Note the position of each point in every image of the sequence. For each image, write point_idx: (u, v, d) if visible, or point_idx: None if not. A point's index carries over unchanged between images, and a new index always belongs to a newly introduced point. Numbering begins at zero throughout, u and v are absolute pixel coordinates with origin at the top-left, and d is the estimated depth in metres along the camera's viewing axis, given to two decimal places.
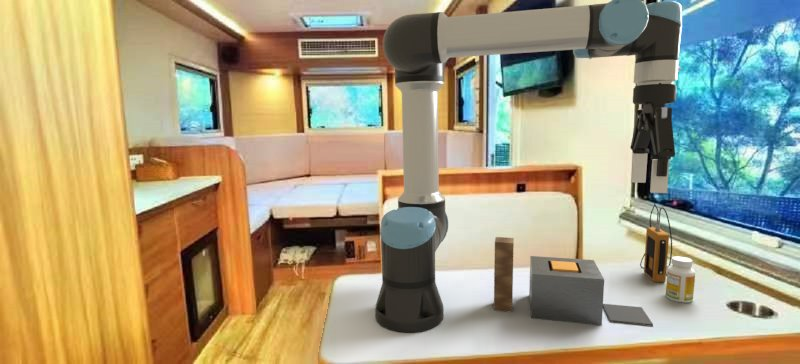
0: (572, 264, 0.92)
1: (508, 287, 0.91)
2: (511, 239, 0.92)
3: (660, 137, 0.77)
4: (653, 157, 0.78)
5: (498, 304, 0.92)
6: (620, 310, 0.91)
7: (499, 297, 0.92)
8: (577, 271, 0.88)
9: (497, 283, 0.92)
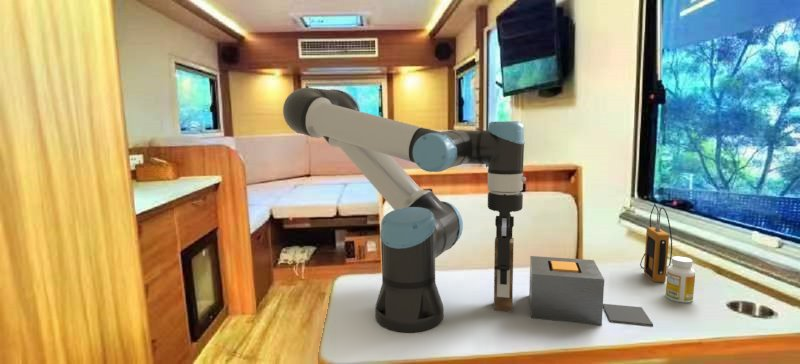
0: (572, 264, 0.92)
1: None
2: (511, 239, 0.92)
3: (499, 254, 0.87)
4: (495, 268, 0.90)
5: (498, 304, 0.92)
6: (620, 310, 0.91)
7: (499, 297, 0.92)
8: (577, 271, 0.88)
9: None
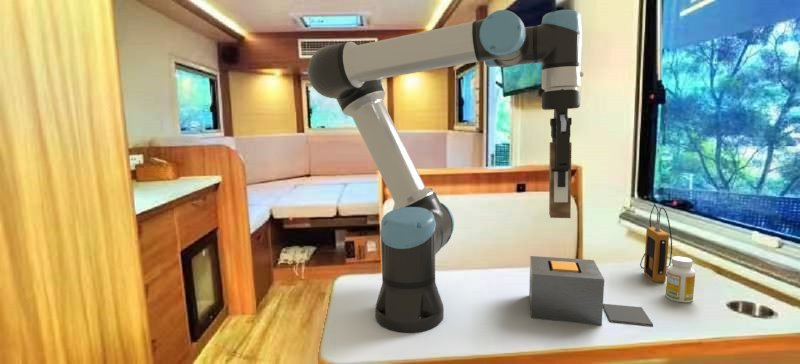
0: (572, 264, 0.92)
1: None
2: None
3: (558, 152, 0.82)
4: (552, 170, 0.85)
5: (555, 211, 0.88)
6: (620, 310, 0.91)
7: (557, 203, 0.87)
8: (577, 271, 0.88)
9: None
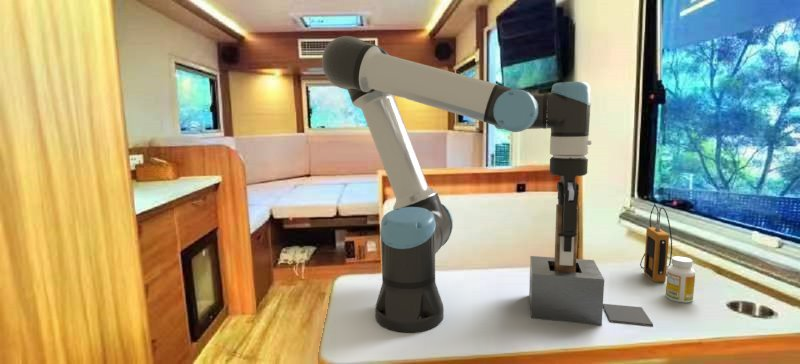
0: None
1: None
2: None
3: (565, 219, 0.84)
4: (559, 235, 0.87)
5: None
6: (620, 310, 0.91)
7: (562, 265, 0.89)
8: None
9: None
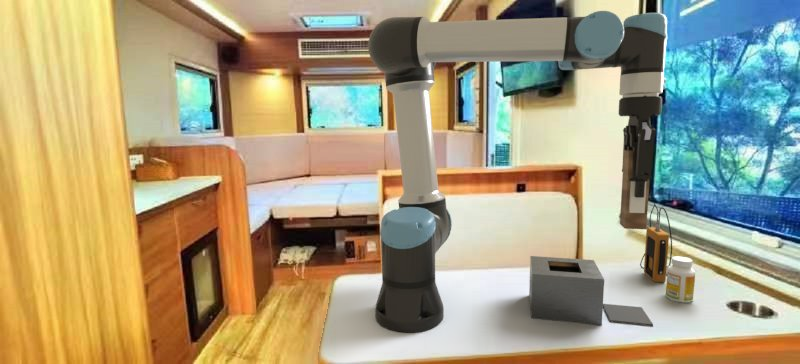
0: None
1: None
2: None
3: (639, 161, 0.79)
4: (630, 180, 0.82)
5: (630, 222, 0.84)
6: (620, 310, 0.91)
7: (632, 213, 0.84)
8: None
9: None
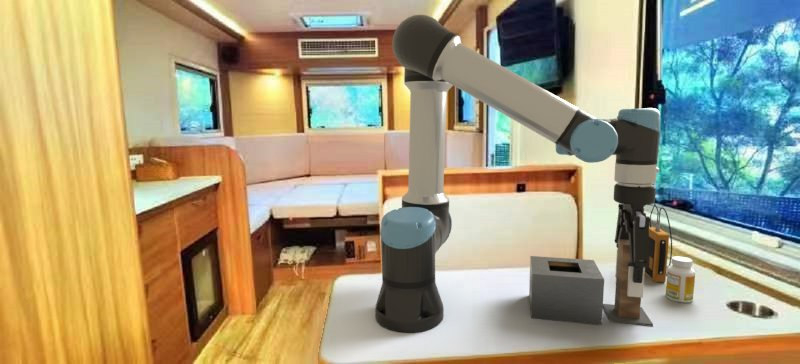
0: None
1: None
2: None
3: (636, 247, 0.80)
4: (629, 265, 0.81)
5: (624, 311, 0.87)
6: None
7: (626, 303, 0.87)
8: None
9: (624, 288, 0.87)
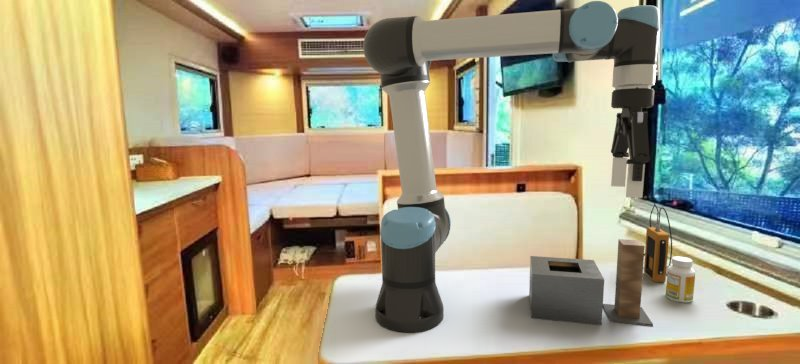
0: None
1: (636, 292, 0.86)
2: (638, 241, 0.87)
3: (635, 142, 0.77)
4: (628, 162, 0.78)
5: (624, 311, 0.87)
6: None
7: (626, 303, 0.87)
8: None
9: (624, 288, 0.87)
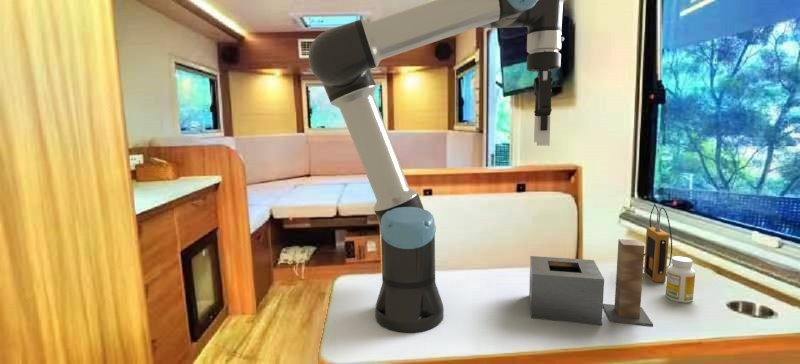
0: None
1: (636, 292, 0.86)
2: (638, 241, 0.87)
3: (540, 96, 0.89)
4: (536, 114, 0.91)
5: (624, 311, 0.87)
6: None
7: (626, 303, 0.87)
8: None
9: (624, 288, 0.87)
